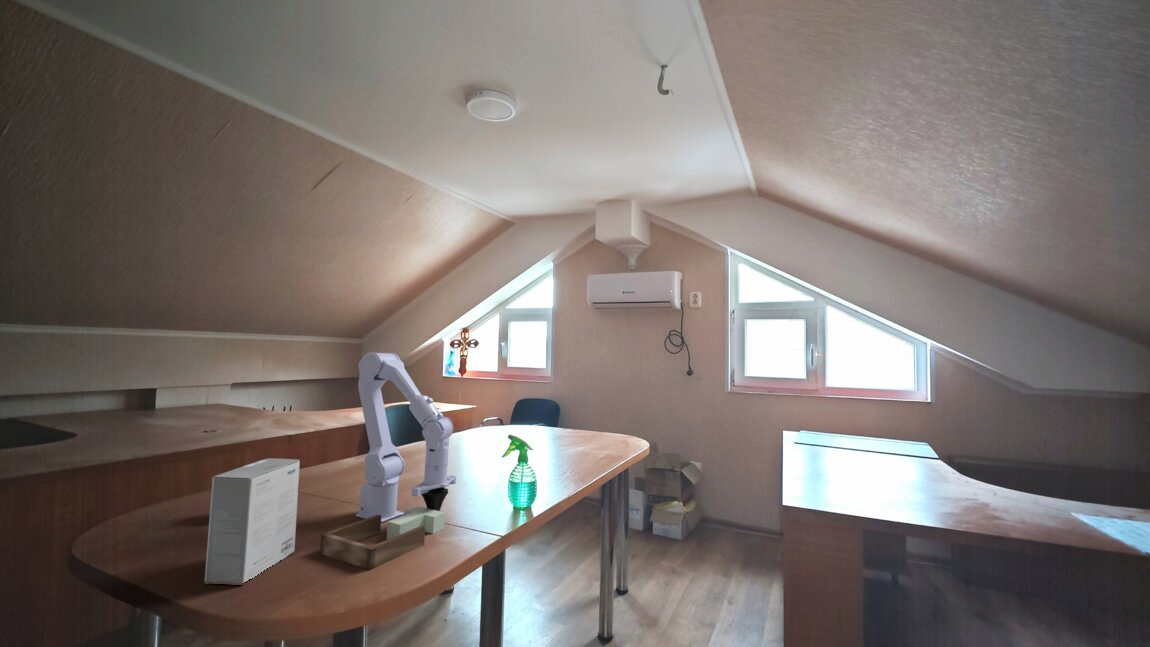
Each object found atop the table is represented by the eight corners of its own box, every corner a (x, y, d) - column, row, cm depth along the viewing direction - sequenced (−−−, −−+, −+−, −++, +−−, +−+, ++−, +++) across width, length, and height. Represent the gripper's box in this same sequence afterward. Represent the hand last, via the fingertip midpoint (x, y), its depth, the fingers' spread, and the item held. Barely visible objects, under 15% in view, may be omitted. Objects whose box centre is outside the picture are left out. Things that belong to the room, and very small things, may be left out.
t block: (377, 536, 111) (378, 519, 111) (414, 521, 121) (415, 505, 122) (408, 545, 106) (409, 527, 107) (444, 528, 117) (445, 512, 117)
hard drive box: (261, 550, 101) (269, 457, 102) (295, 552, 100) (302, 459, 102) (201, 585, 85) (211, 475, 87) (241, 587, 85) (251, 477, 86)
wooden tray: (319, 553, 100) (320, 534, 100) (376, 531, 114) (377, 514, 114) (369, 570, 93) (370, 549, 94) (424, 544, 107) (425, 526, 107)
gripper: (428, 472, 113) (424, 529, 112) (466, 461, 126) (463, 512, 125) (406, 468, 116) (403, 523, 115) (446, 458, 129) (443, 508, 128)
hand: (433, 517), depth 121 cm, fingers closed
